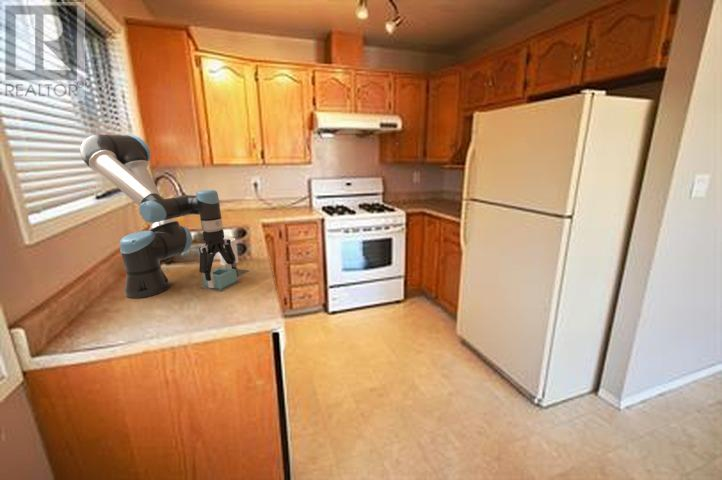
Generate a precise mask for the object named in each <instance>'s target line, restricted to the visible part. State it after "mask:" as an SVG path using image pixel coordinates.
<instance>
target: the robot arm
mask: <svg viewBox="0 0 722 480" xmlns="http://www.w3.org/2000/svg"><path fill="white" fill-rule="evenodd" d="M79 151H80V156H81V158H82V161H83V163H85V165H87V166H88V167H89V168H90V170H92V171H93V172H96V173H100V174H101V175H102V176H103V177H105V178H106V179H107V180H108V181H109V182H110V183H112V184H113V185H114V186H115V187H116V188H118V189H119V190H120V191H121V192H122V193H123V194H124V195H126V196H127V197H128V198H129V199H130V200H132V201H133V202H134V203H135V204H136V205H137V206H138V207H139V208H138V211H139V215H140V216H141V218H142V220H144V221H145V222H147V223H148V224H149V226H150V227H149V229H148V230H141V231H136V232H133V233H129V234H127V235H125V236H123V237H121V239H120V241H119V250H120V254H121V257H122V260H123V265H124V270H125V274H126V278H125V286H124V294H125V296H126V298H131V299H138V298H139V299H140V298H147V297H151V296H155V295H158V294H160V293H163V292H166V291H167V290H168V289H169V288H170V286H171V285H170V281H169V279H168V277H167V275H166V274H165V273H164V271H163V269H162V266H161V261H163V260H167V259H169V258H171V257H175V256H180V255H181V254H183V253H186V252H187V251H189V250H190V249H191V246H192V244H193V239H192V238H193V237H192V233H191V232H190V230H189V228H188V227H186V226H184V225H180V223H179V220H176V219H177V218H180V217H185V216H191V215H199V218H200V224H201V230H202V237H203V240H204V242H205V245H204V246H202V247H199V248H198V252H199V273H201V274H205V277H206V281H208V287H210V288H215V284H214V278H213V272H211V271H212V266H213V263H214V259H215V256H216V255H217V254H218V253H219V252H220V253H219V255H220V254H221V255H222V257H223V258H224V260H225V261H226V263H227V264H225V265H224V266H225V267H224V268H229V269H233V266H232V264H234V261H235V260H236V259H235V256H234V253H233V250H232V247H231V242H230V240H228V239H225V232H224V229H223V228H224V226H223V218H222V212H221V205H220V198H219V194H218V191H217V190H215V189H204V190H198V191H196V195H190V194H181V195H177V196H175V197H169V198H163V197H162V195H161V193H160V191H159V189H158V187H157V186H156V183H155V182H154V179H153V177H152V175H151V173H150V171H149V169H148V168H149V165H150V162H149V161H150V159H151V152H150V147H149V146H148V144H147V142H145V140H143V139H142V138H140V137H139V136H136V135H130V134H122V135H120V134H103V133H102V134H99V133H98V134H97V133H96V134H92V135H90V136H88V137H86V138H85V139H84V140H83V141H82V143H81V146H80V148H79ZM224 246H225V248H224Z"/></svg>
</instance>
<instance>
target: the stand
mask: <svg viewBox="0 0 722 480" xmlns="http://www.w3.org/2000/svg"><path fill="white" fill-rule="evenodd" d="M234 256H235V254H234ZM232 266H233V269H236V273H237V278H238V277H240V276H243V275H244V274H247V273H248V272H250V270H247V269H241V268H238V267H237V263H236V260H235V261H234V264H232Z"/></svg>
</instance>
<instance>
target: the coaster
mask: <svg viewBox="0 0 722 480" xmlns="http://www.w3.org/2000/svg"><path fill="white" fill-rule="evenodd" d="M241 282H242V280H241V279H238V281H236V282H234V283H232V284H230V285H228V286H226V287H224V288H222V289H217V288H210V287H206V286H204V285H202V286H200V289H203V290H204V289H205V290H209V291H216V292H219V293H221V292H224V291H225V290H227V289H229V288H231V287H233V286H235V285H238V284H239V283H241Z"/></svg>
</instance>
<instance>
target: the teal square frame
mask: <svg viewBox="0 0 722 480" xmlns="http://www.w3.org/2000/svg"><path fill="white" fill-rule="evenodd" d="M211 272H213V278H214V284H215V288H217V289H222V288H224V287H226V286H228V285H230V284H232V283H234V282H236V281H238V280H239V279H238V277H237V273H236V269H229V268H225V267H222V266H221V267H217V268H215V269H213V270H212V269H211ZM202 280H203V286H206V287H208V281H206V277H205V273H202Z"/></svg>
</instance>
